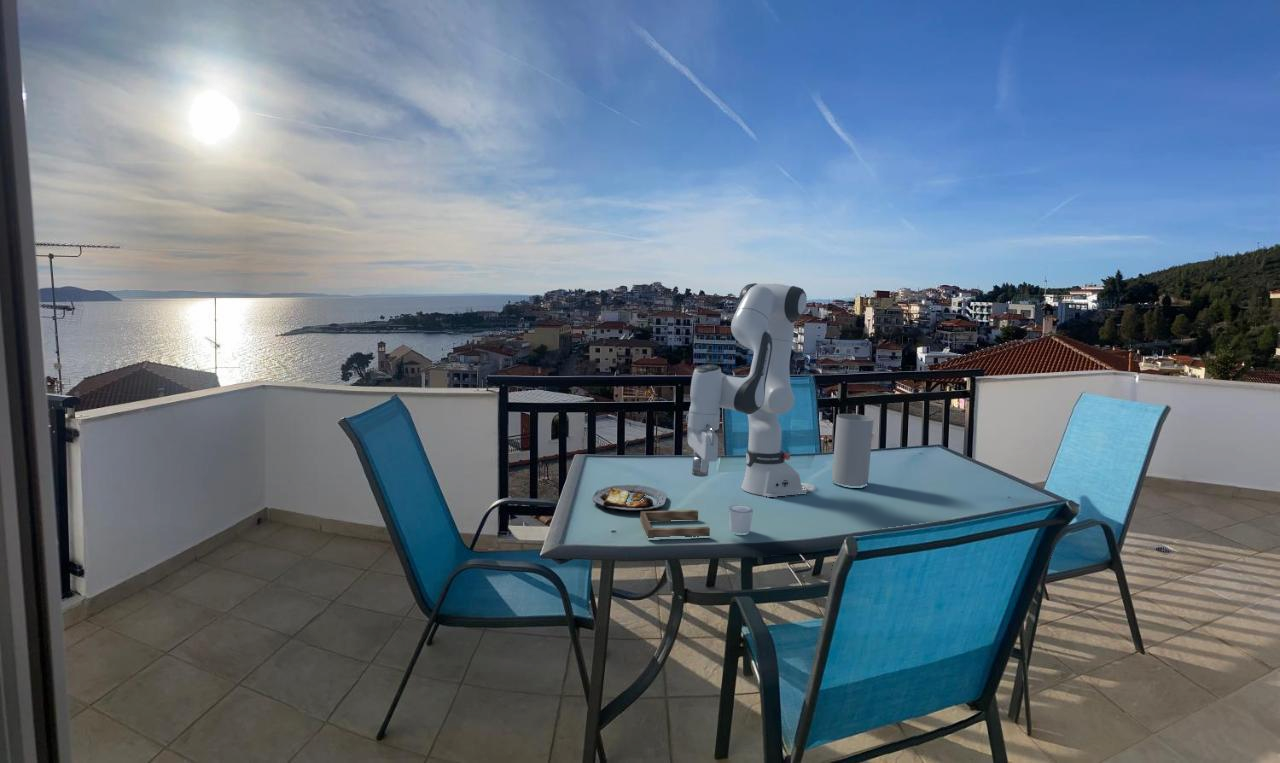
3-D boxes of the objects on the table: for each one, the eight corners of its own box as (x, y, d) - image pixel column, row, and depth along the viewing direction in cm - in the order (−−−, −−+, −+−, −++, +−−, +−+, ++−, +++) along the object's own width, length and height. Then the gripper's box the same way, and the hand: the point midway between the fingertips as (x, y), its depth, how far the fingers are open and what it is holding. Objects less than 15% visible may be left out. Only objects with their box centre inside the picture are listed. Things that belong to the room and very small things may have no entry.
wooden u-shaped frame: (696, 519, 179) (697, 509, 179) (709, 538, 165) (709, 528, 164) (640, 521, 176) (640, 511, 176) (648, 540, 162) (648, 530, 162)
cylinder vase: (849, 477, 227) (854, 413, 224) (875, 487, 216) (881, 419, 212) (824, 481, 222) (829, 415, 218) (849, 491, 211) (854, 421, 207)
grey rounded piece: (705, 472, 175) (706, 455, 175) (709, 476, 171) (711, 459, 170) (690, 472, 174) (691, 455, 174) (694, 476, 170) (695, 459, 169)
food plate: (660, 518, 179) (661, 507, 178) (585, 512, 182) (585, 501, 182) (670, 494, 203) (670, 484, 203) (603, 489, 207) (603, 479, 207)
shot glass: (725, 527, 174) (726, 504, 173) (748, 527, 174) (749, 504, 173) (730, 536, 167) (731, 512, 166) (754, 536, 167) (755, 512, 166)
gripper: (725, 429, 161) (721, 479, 163) (705, 415, 181) (701, 459, 183) (702, 429, 160) (699, 479, 162) (684, 414, 180) (681, 459, 182)
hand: (700, 468), depth 172 cm, fingers closed on grey rounded piece, 5 cm apart
